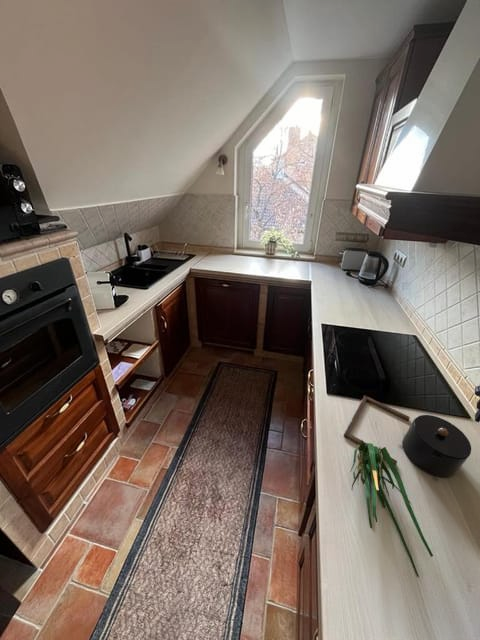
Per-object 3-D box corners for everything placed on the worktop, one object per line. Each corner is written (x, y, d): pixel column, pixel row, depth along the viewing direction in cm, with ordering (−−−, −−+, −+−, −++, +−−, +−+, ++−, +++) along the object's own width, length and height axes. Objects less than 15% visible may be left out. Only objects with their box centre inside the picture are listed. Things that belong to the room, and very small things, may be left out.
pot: (457, 449, 79) (476, 424, 73) (454, 492, 68) (476, 467, 62) (407, 424, 87) (420, 400, 81) (397, 459, 76) (411, 434, 70)
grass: (335, 465, 79) (330, 545, 56) (350, 426, 75) (352, 496, 52) (398, 494, 73) (422, 596, 50) (419, 454, 69) (455, 546, 46)
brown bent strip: (408, 419, 88) (410, 416, 88) (395, 466, 74) (396, 464, 73) (363, 397, 97) (364, 395, 96) (343, 435, 82) (344, 433, 81)
